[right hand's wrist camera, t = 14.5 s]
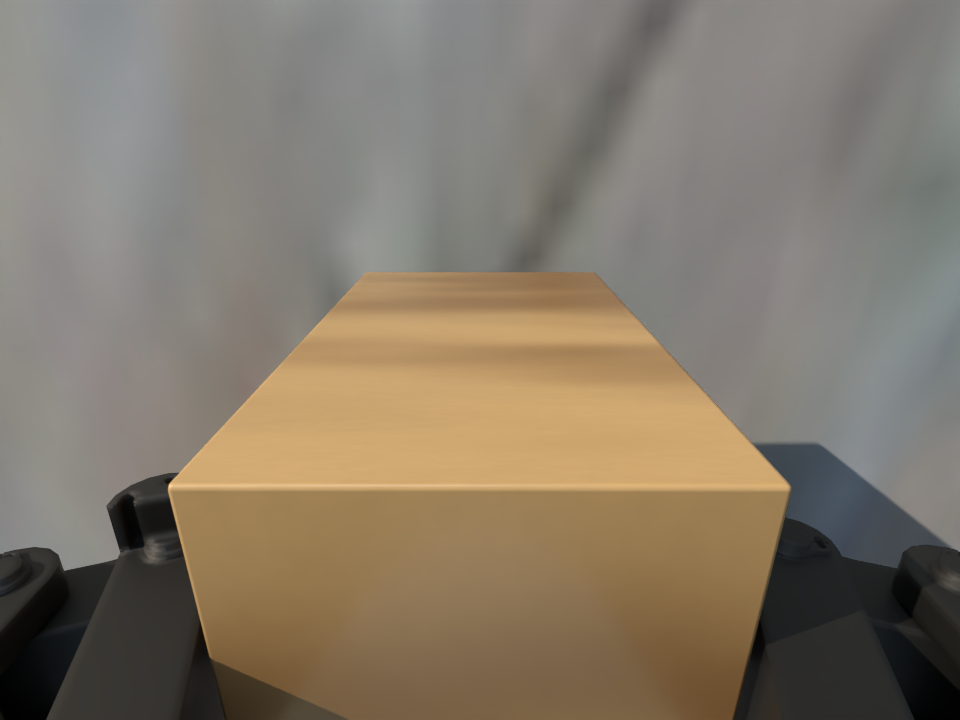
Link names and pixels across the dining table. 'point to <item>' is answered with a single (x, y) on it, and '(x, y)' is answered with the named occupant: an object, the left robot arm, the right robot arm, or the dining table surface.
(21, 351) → the dining table surface
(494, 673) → the bar
